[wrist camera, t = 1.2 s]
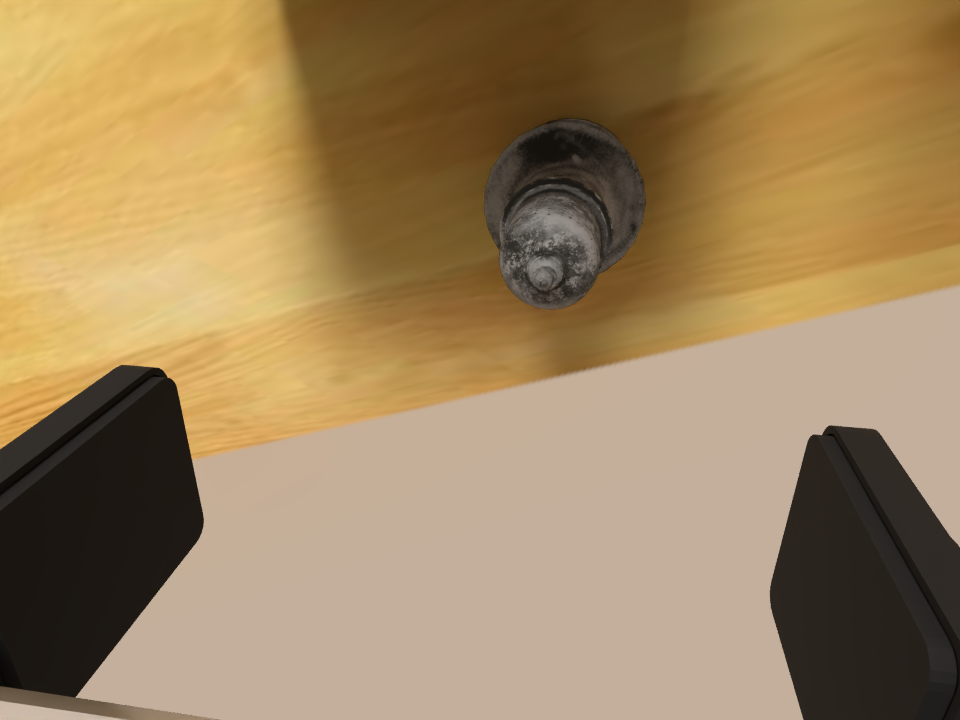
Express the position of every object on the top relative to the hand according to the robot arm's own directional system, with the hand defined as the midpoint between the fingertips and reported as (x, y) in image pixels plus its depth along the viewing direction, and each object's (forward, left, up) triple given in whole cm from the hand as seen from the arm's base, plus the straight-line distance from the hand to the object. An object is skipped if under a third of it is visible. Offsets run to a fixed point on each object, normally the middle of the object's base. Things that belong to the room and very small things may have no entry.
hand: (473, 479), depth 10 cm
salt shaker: (0, 0, -21) cm, 21 cm away
